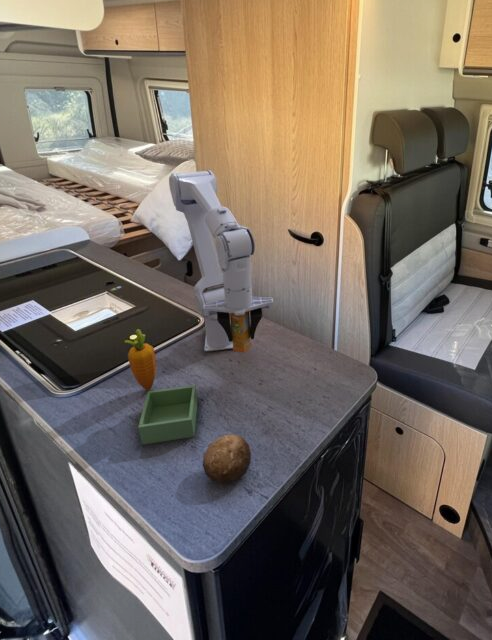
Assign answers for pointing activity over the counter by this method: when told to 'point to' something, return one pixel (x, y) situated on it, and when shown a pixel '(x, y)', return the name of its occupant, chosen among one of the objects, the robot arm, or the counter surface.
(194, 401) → the bin
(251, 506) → the counter surface
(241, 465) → the brown oval lump
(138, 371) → the carrot
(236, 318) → the supplement box
